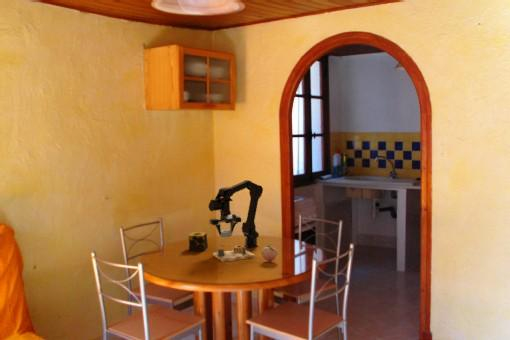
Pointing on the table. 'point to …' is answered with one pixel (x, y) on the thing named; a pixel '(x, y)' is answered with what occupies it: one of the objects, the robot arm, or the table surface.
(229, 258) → the gear board
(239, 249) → the gear
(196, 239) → the tissue box
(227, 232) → the gear
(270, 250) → the decorative fruit
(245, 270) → the table surface
